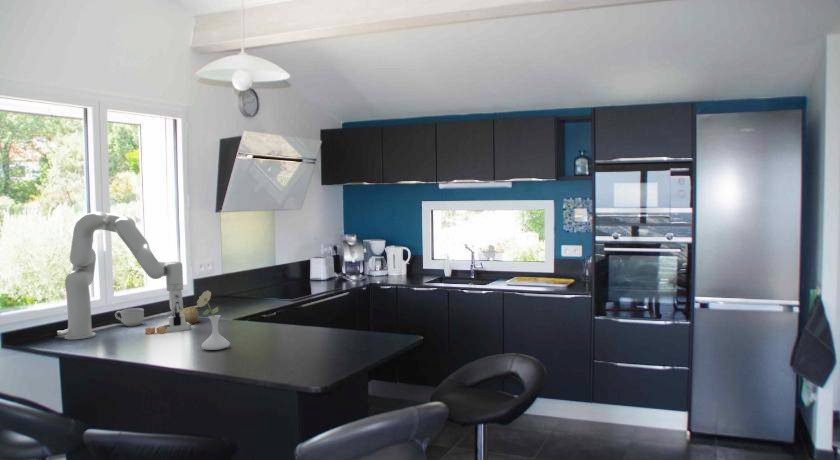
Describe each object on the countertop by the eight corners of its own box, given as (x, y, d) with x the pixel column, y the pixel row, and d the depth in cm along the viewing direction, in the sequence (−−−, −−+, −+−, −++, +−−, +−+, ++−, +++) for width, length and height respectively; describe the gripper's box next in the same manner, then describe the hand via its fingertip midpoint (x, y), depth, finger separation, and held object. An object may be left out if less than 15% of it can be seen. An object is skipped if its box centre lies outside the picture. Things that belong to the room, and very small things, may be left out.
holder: (167, 332, 298) (166, 327, 298) (164, 329, 306) (164, 324, 306) (191, 329, 304) (190, 324, 304) (187, 327, 311) (187, 322, 311)
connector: (160, 332, 299) (158, 320, 298) (158, 331, 302) (157, 318, 302) (186, 327, 305) (184, 315, 304) (184, 326, 308) (183, 314, 308)
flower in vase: (220, 344, 269) (217, 287, 268) (235, 348, 262) (233, 288, 261) (192, 350, 259) (189, 290, 258) (207, 354, 251) (205, 292, 250)
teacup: (148, 323, 325) (147, 307, 325) (137, 327, 314) (136, 311, 314) (123, 323, 327) (122, 308, 326) (111, 327, 316) (110, 311, 316)
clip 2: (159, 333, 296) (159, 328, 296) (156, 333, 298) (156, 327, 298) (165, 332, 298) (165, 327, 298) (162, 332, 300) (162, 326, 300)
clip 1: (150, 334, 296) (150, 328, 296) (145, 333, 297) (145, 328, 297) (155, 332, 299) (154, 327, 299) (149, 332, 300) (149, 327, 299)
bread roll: (197, 319, 333) (196, 304, 332) (200, 324, 319) (199, 308, 319) (178, 321, 328) (177, 306, 328) (180, 326, 315) (179, 310, 315)
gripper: (186, 288, 298) (187, 326, 299) (180, 284, 313) (181, 321, 314) (169, 289, 295) (171, 328, 295) (164, 286, 309) (165, 322, 310)
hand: (176, 324), depth 304 cm, fingers open, 4 cm apart
